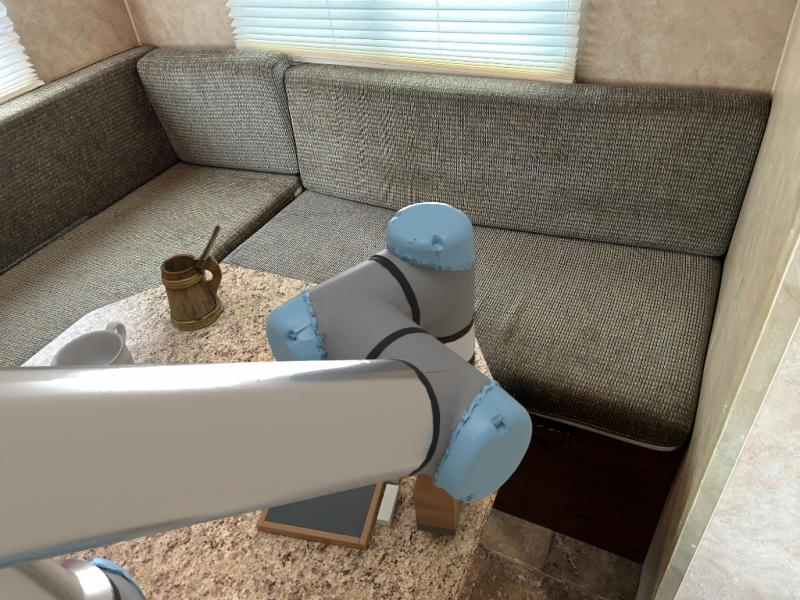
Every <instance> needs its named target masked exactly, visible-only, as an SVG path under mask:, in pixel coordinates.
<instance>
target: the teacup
mask: <svg viewBox="0 0 800 600" xmlns="http://www.w3.org/2000/svg"><path fill="white" fill-rule="evenodd" d="M126 340H127V328H126V326H125V325H124V323H122V322H121V321H119V320H118V321H117V320H115V321H114V320H113V321H110V322H108V324H107V325H106V327H105V329H100V330H94V331H90V332H86V333H83V334H81V335H79V336H77V337H75V338H73V339H72V340H70V341H68V342H67V343H66V344H64V345H63V346H62V347H61V348H60V349H59V350H58V351H57V352H56V353H55V355H54V356H53V357H52V359H51V361H50V365H49V366H72V365H123V364H136V363H135V360H134V357H133V355H132V354H131V352H130V349H129V348H128V346H127V344H126Z"/></svg>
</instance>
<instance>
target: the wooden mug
mask: <svg viewBox="0 0 800 600" xmlns="http://www.w3.org/2000/svg"><path fill="white" fill-rule="evenodd" d="M221 230H222V227H221V226H220V225H219V224H216V225H215V227H214V229H213V230H212V232H211V235H210V238H209V239H208V241H207V243H206V245H205V247H204V249H203V251H202V253H201V254H200V255H199V256H195V255H193V254H191V253H179V254H175V255H172V256H170V257H168V258H166V259H165V260H164V261H162V262H161V265H160V272H161V274H160V276H161V277H160V278H161V284H162V286H164V289H165V293H166V298H167V302H168V307H169V317H170V320H171V323H172V326H173V327H174V328H176V329H178V330H181V331H194V330H198V329H202V328H205V327H207V326H209V325H211V324H212V323H214V322H215V321H216V320H217V319H218V318H219V316H220V315H221V313H222V312H223V309H224V306H223V303H222V300H221V297H220V296H219V294H218V290H219V288H220V285H221V283H222V279H223V271H222V268H221V265H220V264H219V263H218V261H217V260H216V259H215V258H214V257H213V256H212V255H211V254H210V253H211V250H212V249H213V246H214V244H215V242H216V240H217V238H218V235H219V233H220V231H221ZM206 271H208V272H210V273H211V275H212V277H211V279H209V280H208V278H207V276H206V273H207V272H206Z"/></svg>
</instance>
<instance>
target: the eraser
mask: <svg viewBox="0 0 800 600" xmlns="http://www.w3.org/2000/svg"><path fill="white" fill-rule="evenodd" d="M415 477H416V478H415V480H414V481H415V482H414V485H413V489H412V497H413V504H414V513H415V522H416V530H417V531H420V532H427V533H432V534H438V535H443V536H449V537H454V538H455V537H456V535H457V531H458V525H459V519H460V513H461V507H462V502H463V501H462V500H457V499H454V498H453V497H452V496H451V495H450V494H449V493H447V492H446V491H445V490H444V489H443V488H438V487H436V485H435V484H434V480H433V479H432V478H431V477H430V476H429V475H427V474H420V475H416V476H415Z"/></svg>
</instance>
